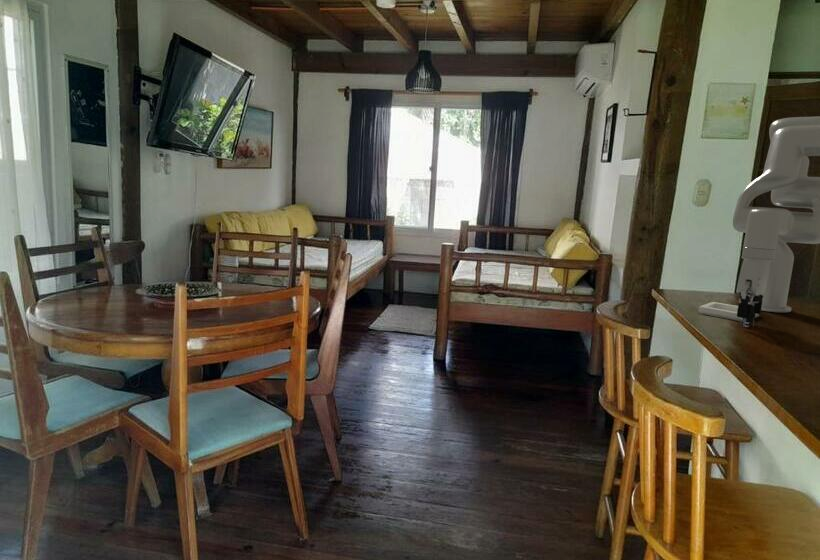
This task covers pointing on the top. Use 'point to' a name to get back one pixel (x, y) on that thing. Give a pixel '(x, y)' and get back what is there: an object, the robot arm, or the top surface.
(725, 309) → the socket plate
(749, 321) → the push button
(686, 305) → the top surface
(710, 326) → the top surface
